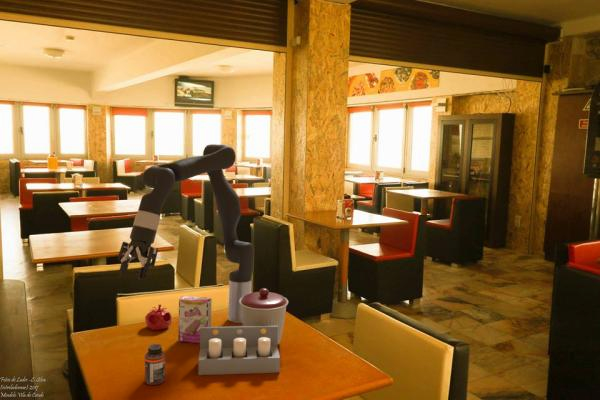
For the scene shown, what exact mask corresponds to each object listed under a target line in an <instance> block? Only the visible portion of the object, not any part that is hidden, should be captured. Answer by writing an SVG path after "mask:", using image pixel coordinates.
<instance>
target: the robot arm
mask: <svg viewBox="0 0 600 400" xmlns="http://www.w3.org/2000/svg"><path fill="white" fill-rule="evenodd" d="M202 153H203V154H202V155H197V156H192V157H185V158H182V159H181V158H180V159H179V160H176V161H173V162H171V163H170V162H169V163H163V164H158V165H157V164H156V165H153V166H150V167H148V168H146V169H145V170H144V171H143V174H142V182H143V184H144V185H145V186H146V187H147V188H150V189H152V190H151V192H150V193H146V194H144V195H142V197H141V199H140V203H139V207H138V209H137V210H138V211H137V213H136V215H135V218H134V221H133V225H132V227H131V228H132V229H131V231H130V235H129V239H130V240H131V241H130V242H127V241H123V242H122V244H121V247H120V249H119V252H118V256H117V260H118V261H120V262H121V264H120V266H119V273H118V274H119V275H120V276H124V277H125V276H126V275H127V272H128V268H129V265H130V262H132V260H135V259H138V261H139V263H140V266H141V267H140V268H139V272H138V276H137V279H138V280H140V281H144V280H145V279H146V278H147V274H148V270H149V269H150V268H154V267H155V266H156V265H155V264H156V262H157V261H156V260H157V256H158V253H159V248H157V247H153V246H152V245H153V244H154V243H155V239H156V236H157V233H158V229H159V225H160V218H161V214H162V212H163V211H162V210H163V207H164V203H165V202H166V201H167V198H168V197H169V195H170V194H171V192H172V189H173V188H174V186H175V183H180V182H184V181H186V180H189V179H191V178H194V177H196V176H199V175H202V174H206V173H207V176H208V179H209V181H210V185H211V188H212V192H213V196H214V201H215V205H216V206H215V207H216V210H217V214H218V219H219V221H220V222H219V223H220V227H221V230H222V231H221V232H222V239H223V245H224V254H225V257H226V259H227V260H228V261H229V262H230V263H233V264H238V269H236V270H232V271H231V272H230V273H229V277H228V279H229V280H228V318H227V319H228V321H229V322H231V323H235V324H242V313H241V305H240V303H239V300H240V299H241V298H242V297H244V296H245V295H247V294H250V293H252V280H253V279H252V276H253V272H254V267H255V266H254V263H255V247H254V245H253V244H252V243H251V242H249V241H248V242H247V241H242V240H241V241H240V240H239V239H238V234H237V226H238V224H239V221H240V219H241V215H242V207H241V203H240V198H239V196H238V194H237V192H236V191H235V189H234V187H233V186H232V185H231V184H230V183H229V182H228V180H227V179H226V177H225V175H224V171H223V170H227V169H230V168H231V167H233V165H234V164H235V161H236V157H237V156H236V152H235V149H234V148H233V147H232V146H230V145H227V144H217V143H215V144H214V143H213V144H208V145H206V146H204V148H203V152H202Z"/></svg>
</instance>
